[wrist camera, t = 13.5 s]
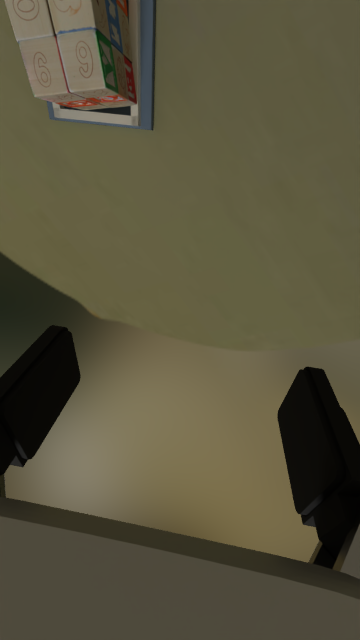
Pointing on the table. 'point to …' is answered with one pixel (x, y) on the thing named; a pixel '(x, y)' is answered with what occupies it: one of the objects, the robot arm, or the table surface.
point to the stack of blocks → (76, 51)
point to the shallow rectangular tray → (143, 55)
